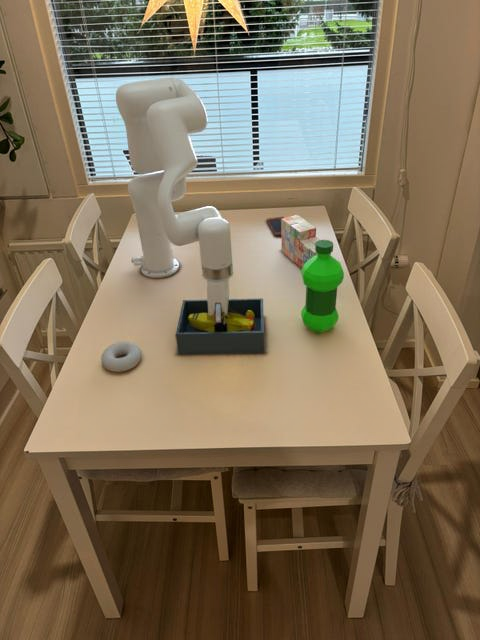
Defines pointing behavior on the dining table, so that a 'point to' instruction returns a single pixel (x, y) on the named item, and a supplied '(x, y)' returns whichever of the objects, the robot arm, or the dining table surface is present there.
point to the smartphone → (275, 225)
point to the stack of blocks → (298, 239)
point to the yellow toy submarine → (232, 319)
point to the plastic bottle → (321, 288)
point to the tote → (220, 342)
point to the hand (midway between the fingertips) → (222, 327)
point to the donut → (121, 363)
